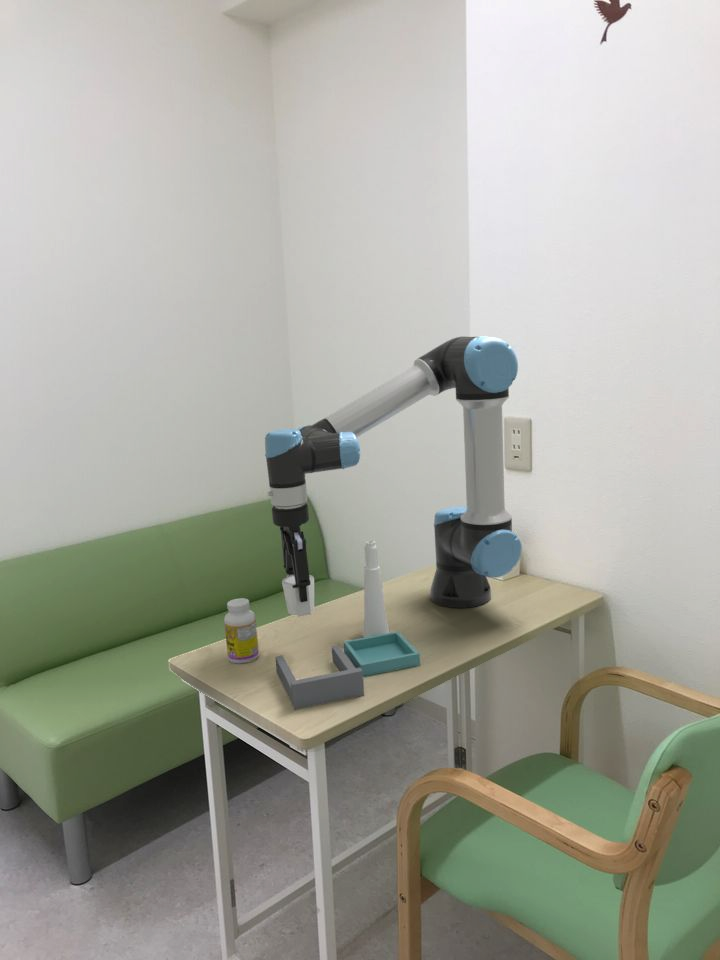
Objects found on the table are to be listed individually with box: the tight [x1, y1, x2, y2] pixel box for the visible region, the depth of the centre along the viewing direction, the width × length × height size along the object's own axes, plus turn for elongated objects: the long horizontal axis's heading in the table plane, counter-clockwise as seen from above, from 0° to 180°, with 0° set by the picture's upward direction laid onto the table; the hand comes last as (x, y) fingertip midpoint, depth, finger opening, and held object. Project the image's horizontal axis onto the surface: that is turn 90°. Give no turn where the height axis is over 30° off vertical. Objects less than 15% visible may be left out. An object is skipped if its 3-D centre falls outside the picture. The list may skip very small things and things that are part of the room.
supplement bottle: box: [223, 597, 260, 664], centre depth 164 cm, size 7×7×13 cm
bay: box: [274, 644, 365, 710], centre depth 151 cm, size 17×14×5 cm
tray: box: [342, 630, 421, 677], centre depth 161 cm, size 13×13×2 cm
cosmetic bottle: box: [362, 540, 390, 638], centre depth 171 cm, size 6×6×22 cm
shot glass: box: [281, 574, 315, 616], centre depth 163 cm, size 7×7×7 cm
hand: (300, 608), depth 163 cm, fingers closed on shot glass, 7 cm apart
